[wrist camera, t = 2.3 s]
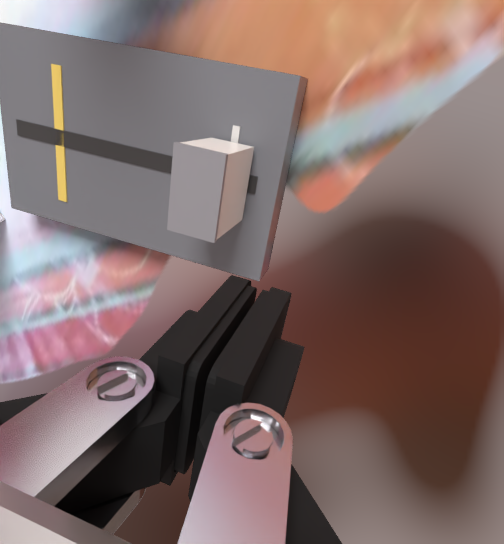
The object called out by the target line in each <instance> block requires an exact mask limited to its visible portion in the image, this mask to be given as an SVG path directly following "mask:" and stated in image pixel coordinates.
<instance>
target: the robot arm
mask: <svg viewBox="0 0 504 544" xmlns="http://www.w3.org/2000/svg"><path fill="white" fill-rule="evenodd" d="M256 291H257V289H256V288H255V287H252V286H251V281H249V280H246V279H243V278H240V277H236V276H233V275H232V276H230V277H229V278H228V279H227V280H226V282H224V284H223V285H222V286H221V287H220V288H219V289H218V290H217V291H216V292H215V294H214V295H213V296H212V297H211V298H210V299H209V300H208V301H207V302H206V303H205V305H204V306H203V307H202V308H201V309H200V310H199V311H198V312H195V311H192V310H188V311H186V312H185V313H184V314H183V315H182V316H181V317H180V318H179V319H178V320H177V321H176V322H175V324H173V325H172V326H171V328H170V329H169V330H168V331H167V332H166V333H165V334H164V335H163V336H162V337H161V338H160V339H159V340H158V341H157V342H156V343H155V344H154V345H153V346H152V347H151V348H150V349H149V350H148V351H147V352H146V353H145V354H144V355H143V356H142V357H141V358H140V359H139V360H137V359H134V358H130V357H122V356H121V357H109V358H106V359H102V360H99V361H97V362H95V363H93V364H91V365H89V366H88V367H86V368H85V369H83V370H82V371H80V372H79V373H78V374H76V375H75V376H73V377H72V378H70V379H69V380H67V381H66V382H64V383H63V384H61V385H60V386H58V387H57V388H55V389H54V390H53V391H51V392H49V393H47V394H41V395H36V396H31V397H26V398H21V399H15V400H11V401H5V402H0V544H131V543H129V542H127V541H125V540H123V539H121V538H119V537H117V536H114V535H113V534H114V532H115V531H116V530H117V529H118V527H119V526H120V525H121V524H122V523H123V521H124V520H125V519H126V518H127V516H128V515H129V514H130V513H131V512H132V510H133V509H134V508H135V507H136V505H137V504H138V503H139V501H140V500H141V498H142V496H143V495H144V493H145V489H146V488H147V487H150V486H152V485H155V484H158V483H159V482H163V483H165V484H167V485H171V483H172V482H173V480H174V478H175V476H176V474H177V473H178V472H180V473H183V474H185V473H186V472H187V470H188V469H189V466H190V465H191V463H192V461H193V459H194V462H193V468H192V475H191V482H190V488H189V495H188V496H189V499H190V502H191V503H190V506H189V509H188V512H187V516H186V519H185V522H184V526H183V528H182V531H181V535H180V538H179V541H178V544H342V543H341V541H340V540H339V538H338V536H337V535H336V533H335V532H334V530H333V529H332V527H331V526H330V524H329V522H328V521H327V519H326V518H325V516H324V515H323V513H322V511H321V510H320V508H319V507H318V505H317V503H316V502H315V500H314V499H313V497H312V496H311V494H310V493H309V491H308V489H307V488H306V486H305V485H304V483H303V481H302V480H301V478H300V477H299V475H298V474H297V472H296V470H295V469H294V467H293V466H292V464H291V459H292V446H293V440H292V432H291V430H290V428H289V426H288V423H287V422H286V421H285V420H284V419H283V418H284V415H285V411H286V408H287V405H288V402H289V399H290V395H291V392H292V389H293V386H294V382H295V379H296V375H297V372H298V368H299V365H300V361H301V358H302V354H303V350H304V347H303V346H300V345H297V344H294V343H291V342H288V341H285V340H282V339H281V335H282V331H283V327H284V323H285V319H286V315H287V311H288V307H289V303H290V298H291V293H290V292H287V291H283V290H280V289H276V288H273V287H272V288H271V289H270V291H265V290H262V292H261V293H260V295H259V296H258V298H257V299H256V301H255V297H256Z"/></svg>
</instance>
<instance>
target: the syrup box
mask: <svg viewBox="0 0 504 544" xmlns="http://www.w3.org/2000/svg"><path fill="white" fill-rule="evenodd" d="M4 220H5V218H4V216H3V215H2V214H1V213H0V222H2V221H4Z"/></svg>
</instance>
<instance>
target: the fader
mask: <svg viewBox="0 0 504 544" xmlns="http://www.w3.org/2000/svg"><path fill="white" fill-rule="evenodd" d="M253 151H254V147H252V146H248V145H243V144H239V143H234V142H230V141H225V140H221V139H216V138H206V139H199V140H193V141H187V142H180V143H179V142H174V144H173V158H172V171H171V184H170V197H169V210H168V223H167V230H170V231H173V232H177V233H180V234H184V235H187V236H191V237H194V238H198V239H201V240H205V241H208V242H212V243H215V242H216V240H217V239H218V238H220V237H221V236H222V235H223V234H225V233H226V232H227V231H229V230H230V229H231V228H232V227H234V226H235V225H236V224H238V223H239V222H240V221H241V220H242V218H243V212H244V206H245V200H246V194H247V188H248V181H249V175H250V169H251V163H252V157H253Z"/></svg>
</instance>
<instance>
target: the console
mask: <svg viewBox="0 0 504 544" xmlns="http://www.w3.org/2000/svg"><path fill="white" fill-rule="evenodd" d="M307 80H308V79H307V78H304V77H302V76H298V75H293V74H287V73H281V72H276V71H270V70H264V69H259V68H253V67H248V66H242V65H236V64H231V63H225V62H219V61H214V60H208V59H203V58H197V57H191V56H186V55H180V54H174V53H169V52H163V51H158V50H152V49H146V48H141V47H135V46H129V45H124V44H118V43H113V42H107V41H101V40H96V39H90V38H84V37H79V36H73V35H68V34H62V33H56V32H51V31H45V30H39V29H34V28H28V27H23V26H17V25H11V24H6V23H0V105H1V114H2V124H3V133H4V142H5V151H6V161H7V170H8V179H9V188H10V198H11V207H12V208H14V209H17V210H20V211H24V212H27V213H31V214H34V215H37V216H41V217H44V218H47V219H51V220H54V221H57V222H61V223H64V224H68V225H71V226H74V227H78V228H81V229H84V230H88V231H91V232H95V233H98V234H101V235H105V236H108V237H111V238H115V239H118V240H121V241H125V242H128V243H132V244H135V245H138V246H142V247H145V248H148V249H152V250H155V251H158V252H162V253H165V254H169V255H172V256H176V257H179V258H182V259H185V260H189V261H192V262H195V263H199V264H202V265H206V266H209V267H213V268H216V269H219V270H222V271H226V272H229V273H232V274H236V275H239V276H243V277H246V278H250V279H253V280H256V281H260V280H261V279H262V277H263V276H264V274H265V273H266V272H267V270H268V267H269V262H270V257H271V253H272V248H273V243H274V238H275V233H276V229H277V224H278V219H279V214H280V209H281V204H282V200H283V195H284V190H285V185H286V181H287V176H288V171H289V166H290V161H291V157H292V152H293V147H294V142H295V137H296V132H297V128H298V123H299V118H300V113H301V108H302V104H303V99H304V94H305V89H306V84H307ZM206 138H216V139H221V140H225V141H230V142H234V143H239V144H243V145H248V146H252V147H254V151H253V157H252V163H251V169H250V175H249V181H248V188H247V194H246V200H245V206H244V212H243V218H242V220H241V221H240V222H239V223H238V224H236V225H235V226H234V227H232V228H231V229H230V230H229V231H227V232H226V233H225V234H223V235H222V236H221V237H220V238H218V239H217V240H216V242H215V243H212V242H208V241H205V240H201V239H198V238H194V237H191V236H187V235H184V234H180V233H177V232H173V231H170V230H167V223H168V210H169V197H170V184H171V171H172V158H173V144H174V142H179V143H180V142H187V141H193V140H199V139H206Z"/></svg>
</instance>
